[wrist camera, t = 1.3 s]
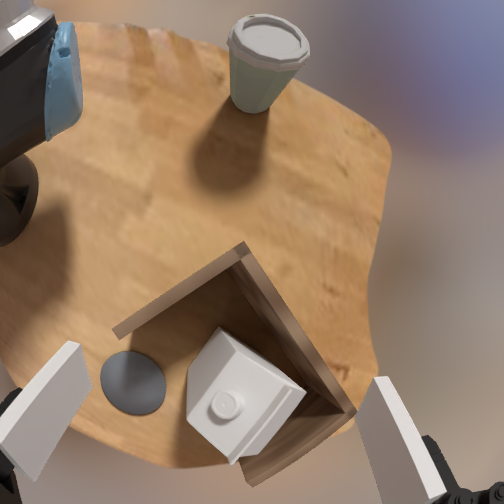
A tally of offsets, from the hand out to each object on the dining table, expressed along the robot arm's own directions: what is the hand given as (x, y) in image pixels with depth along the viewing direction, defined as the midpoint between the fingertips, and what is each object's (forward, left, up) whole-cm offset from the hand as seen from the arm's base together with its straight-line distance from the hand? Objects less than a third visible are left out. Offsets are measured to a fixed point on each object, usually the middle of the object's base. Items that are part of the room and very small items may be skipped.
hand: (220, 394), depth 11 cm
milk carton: (+6, 0, -24) cm, 25 cm away
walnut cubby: (+6, +1, -24) cm, 25 cm away
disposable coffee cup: (-24, +24, -24) cm, 42 cm away
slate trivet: (+2, -12, -24) cm, 27 cm away
